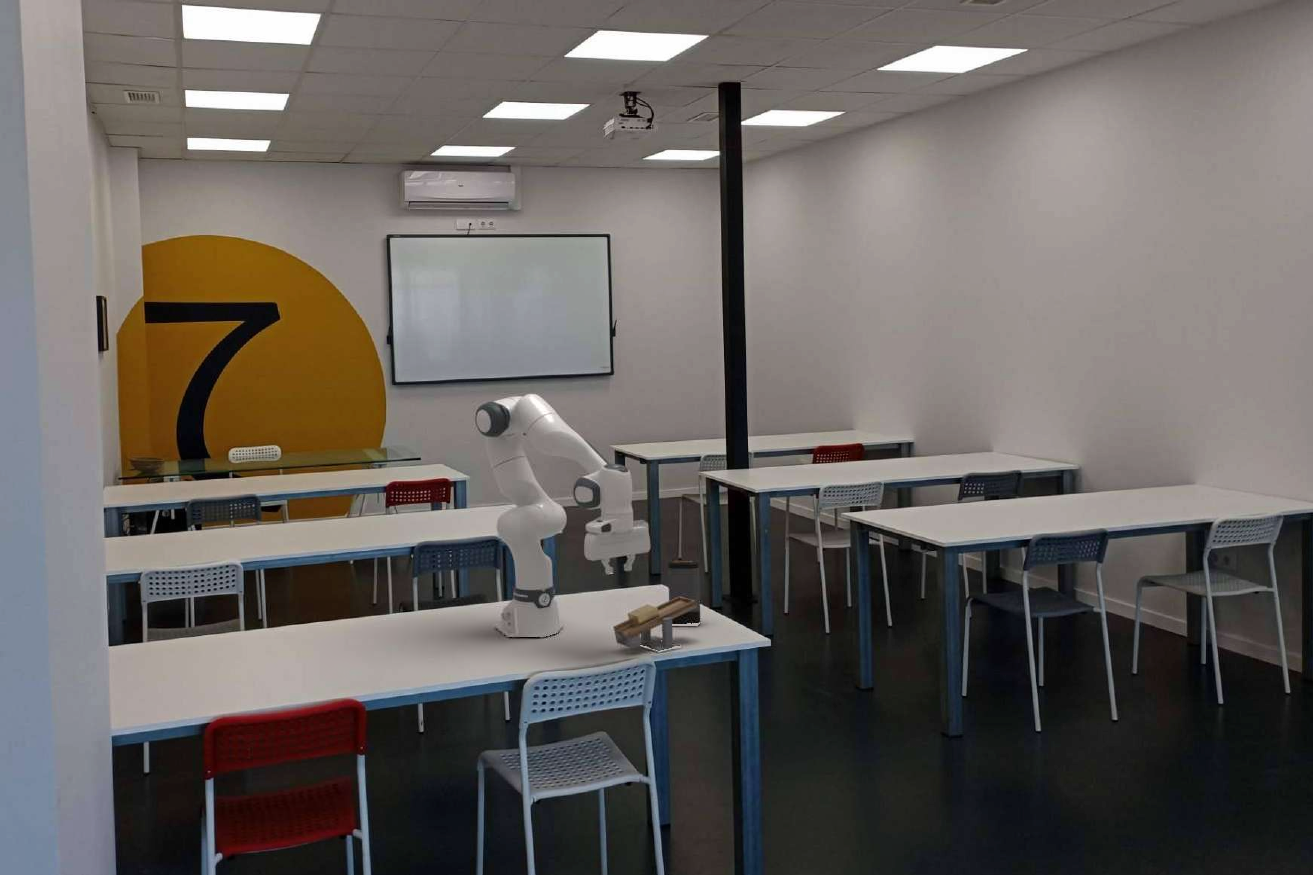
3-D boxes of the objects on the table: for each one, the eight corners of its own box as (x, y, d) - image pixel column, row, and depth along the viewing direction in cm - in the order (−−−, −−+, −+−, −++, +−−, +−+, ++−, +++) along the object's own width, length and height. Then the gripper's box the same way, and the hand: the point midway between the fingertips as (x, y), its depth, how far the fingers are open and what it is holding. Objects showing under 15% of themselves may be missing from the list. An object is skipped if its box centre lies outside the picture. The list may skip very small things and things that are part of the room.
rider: (630, 624, 320) (627, 613, 319) (649, 615, 324) (647, 604, 323) (640, 628, 316) (637, 616, 315) (659, 618, 319) (657, 607, 319)
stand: (632, 643, 325) (631, 613, 325) (654, 639, 330) (654, 608, 329) (658, 653, 315) (658, 621, 314) (681, 648, 320) (680, 616, 319)
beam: (617, 642, 319) (613, 626, 318) (682, 611, 332) (679, 596, 331) (633, 648, 313) (629, 632, 312) (699, 616, 326) (695, 600, 325)
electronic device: (700, 622, 349) (699, 558, 347) (699, 627, 343) (698, 562, 341) (670, 622, 350) (669, 558, 348) (669, 627, 344) (667, 562, 342)
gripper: (641, 517, 321) (642, 565, 322) (580, 525, 309) (581, 575, 310) (654, 520, 316) (655, 568, 317) (593, 528, 304) (594, 579, 305)
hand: (618, 572), depth 313 cm, fingers open, 5 cm apart
